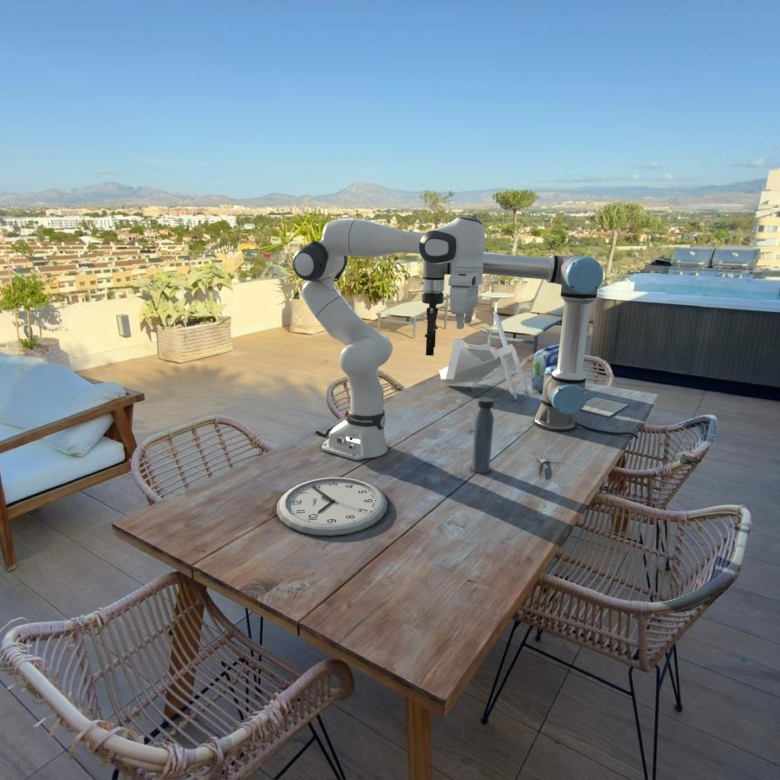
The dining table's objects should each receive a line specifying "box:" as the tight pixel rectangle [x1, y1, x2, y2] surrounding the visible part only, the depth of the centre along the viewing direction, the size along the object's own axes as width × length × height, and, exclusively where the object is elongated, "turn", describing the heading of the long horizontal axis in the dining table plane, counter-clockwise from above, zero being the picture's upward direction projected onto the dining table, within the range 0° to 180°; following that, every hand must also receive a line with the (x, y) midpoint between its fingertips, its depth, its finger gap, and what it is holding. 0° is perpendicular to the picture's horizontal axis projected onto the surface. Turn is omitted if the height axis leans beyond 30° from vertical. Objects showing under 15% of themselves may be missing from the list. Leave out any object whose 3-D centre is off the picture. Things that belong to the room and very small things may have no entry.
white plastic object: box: [438, 310, 531, 400], centre depth 245 cm, size 37×45×31 cm
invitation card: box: [580, 396, 629, 418], centre depth 226 cm, size 21×1×15 cm
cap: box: [477, 396, 494, 409], centre depth 159 cm, size 4×4×2 cm
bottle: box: [471, 407, 495, 474], centre depth 162 cm, size 6×6×23 cm
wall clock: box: [276, 476, 388, 537], centre depth 142 cm, size 30×2×30 cm
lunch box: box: [530, 344, 560, 393], centre depth 247 cm, size 26×11×21 cm, turn 134°
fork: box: [538, 451, 548, 475], centre depth 168 cm, size 3×16×2 cm, turn 160°
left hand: (463, 325), depth 152 cm, fingers open, 8 cm apart
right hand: (430, 351), depth 189 cm, fingers open, 13 cm apart
